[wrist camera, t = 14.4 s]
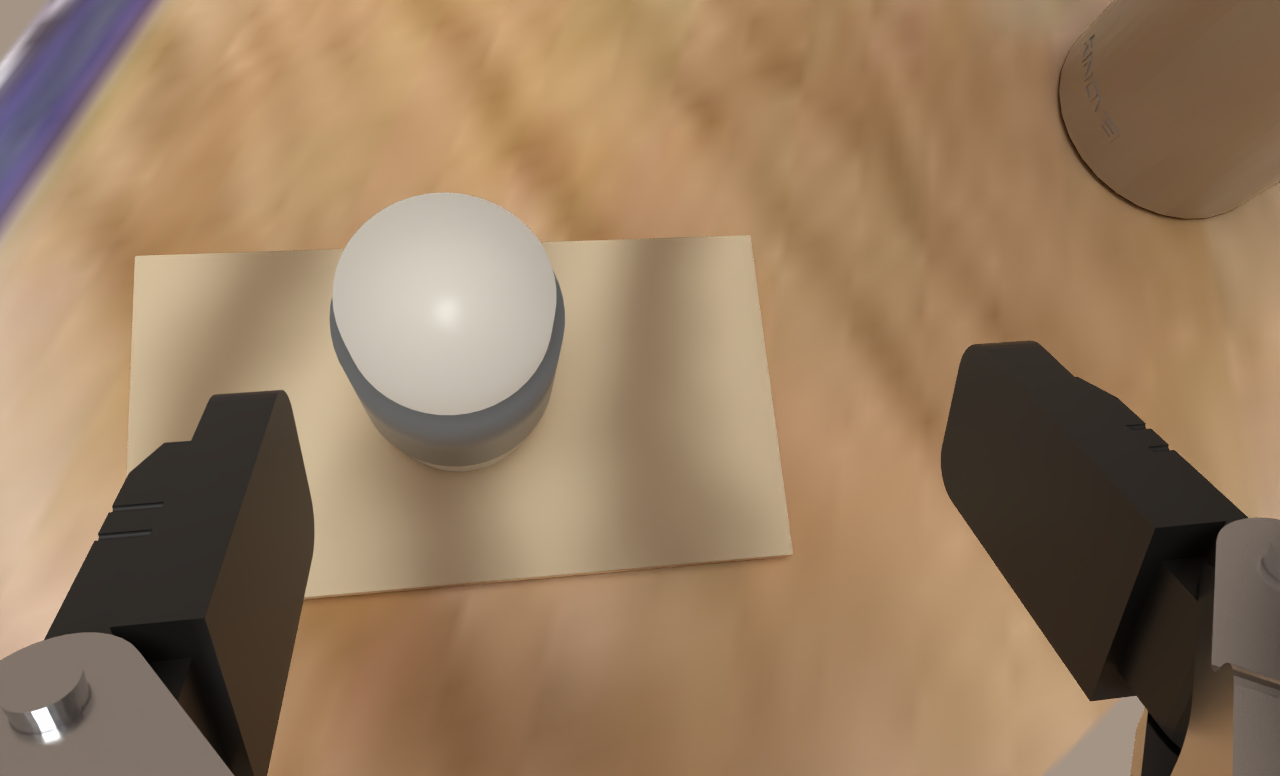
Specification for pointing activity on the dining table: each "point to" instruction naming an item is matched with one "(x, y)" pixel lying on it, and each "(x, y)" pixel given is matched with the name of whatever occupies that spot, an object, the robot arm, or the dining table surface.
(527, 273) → the grey banded cylinder
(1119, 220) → the dining table surface
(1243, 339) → the dining table surface
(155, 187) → the dining table surface
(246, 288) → the oak board
